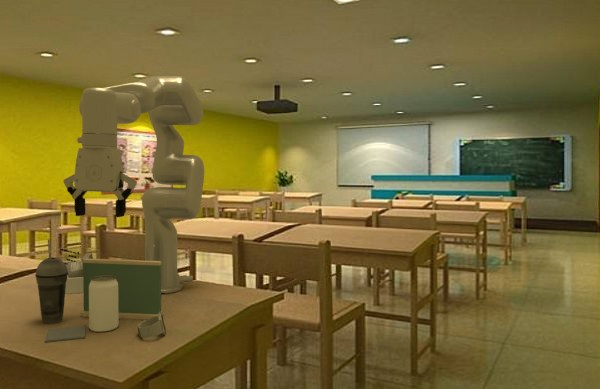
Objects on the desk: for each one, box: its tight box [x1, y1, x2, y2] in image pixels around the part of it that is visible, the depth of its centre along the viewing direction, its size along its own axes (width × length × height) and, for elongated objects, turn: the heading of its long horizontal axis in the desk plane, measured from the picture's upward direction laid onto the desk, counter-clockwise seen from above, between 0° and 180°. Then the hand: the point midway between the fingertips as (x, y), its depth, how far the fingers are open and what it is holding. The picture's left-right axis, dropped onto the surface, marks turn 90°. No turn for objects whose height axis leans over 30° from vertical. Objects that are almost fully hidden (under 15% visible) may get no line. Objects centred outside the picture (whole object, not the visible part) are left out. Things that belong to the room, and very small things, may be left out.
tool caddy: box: [63, 260, 84, 295], centre depth 162 cm, size 16×28×4 cm, turn 22°
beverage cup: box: [35, 238, 68, 324], centre depth 123 cm, size 7×7×20 cm
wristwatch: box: [136, 312, 167, 339], centre depth 115 cm, size 9×6×5 cm
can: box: [88, 275, 119, 333], centre depth 118 cm, size 6×6×12 cm
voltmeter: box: [59, 248, 94, 278], centre depth 161 cm, size 27×11×10 cm, turn 52°
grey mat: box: [44, 325, 87, 343], centre depth 114 cm, size 8×8×1 cm
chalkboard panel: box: [80, 258, 164, 320], centre depth 128 cm, size 20×4×14 cm, turn 85°
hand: (100, 216), depth 117 cm, fingers open, 9 cm apart
